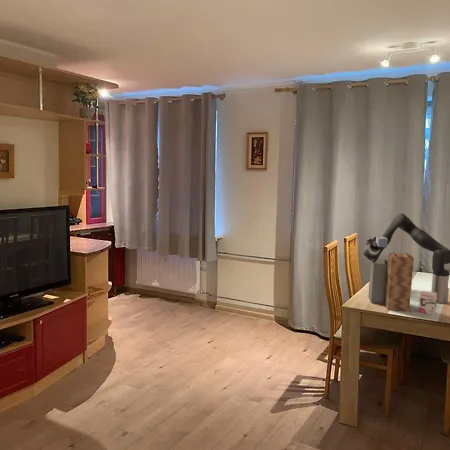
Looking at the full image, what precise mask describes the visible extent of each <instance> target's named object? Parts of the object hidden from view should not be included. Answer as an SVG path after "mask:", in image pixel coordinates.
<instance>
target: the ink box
mask: <svg viewBox="0 0 450 450" xmlns="http://www.w3.org/2000/svg"><path fill="white" fill-rule="evenodd" d="M436 302H437V293H433V292H431V291H425V290H422V291H420V293H419V303H418V304H419V305H418V313H422V314H423V313H424V314H429V315H433V316H434V315H436V309H437V303H436Z"/></svg>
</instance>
